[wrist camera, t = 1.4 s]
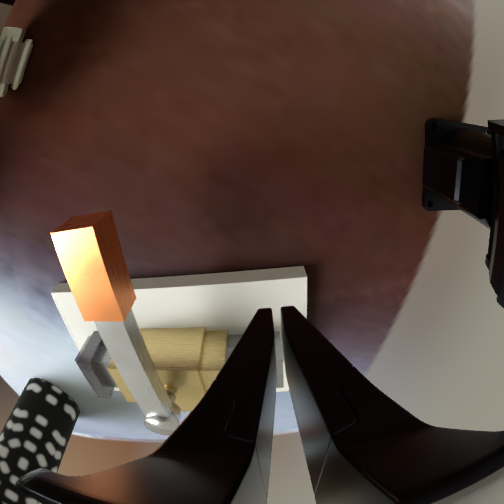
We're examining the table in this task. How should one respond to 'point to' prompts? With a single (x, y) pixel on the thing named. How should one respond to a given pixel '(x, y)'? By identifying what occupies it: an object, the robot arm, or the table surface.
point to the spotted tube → (34, 436)
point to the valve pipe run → (169, 362)
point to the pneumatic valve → (12, 51)
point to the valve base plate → (201, 302)
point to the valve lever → (113, 310)
